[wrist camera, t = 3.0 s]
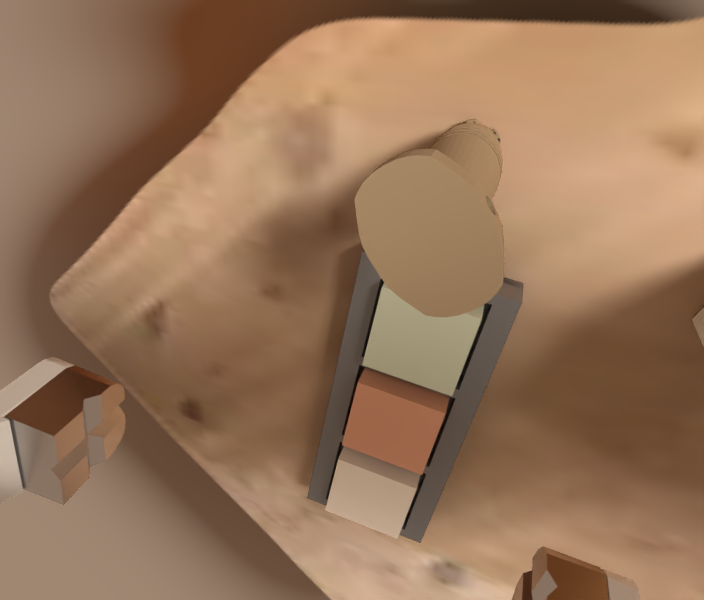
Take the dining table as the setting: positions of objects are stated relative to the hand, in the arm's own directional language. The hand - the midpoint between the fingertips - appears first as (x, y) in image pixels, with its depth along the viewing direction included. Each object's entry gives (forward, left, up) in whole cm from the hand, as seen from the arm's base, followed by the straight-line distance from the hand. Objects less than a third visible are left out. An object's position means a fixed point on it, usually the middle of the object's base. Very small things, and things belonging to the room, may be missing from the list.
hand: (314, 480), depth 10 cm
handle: (0, 0, -27) cm, 27 cm away
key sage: (+12, 0, -25) cm, 28 cm away
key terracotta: (+20, 0, -25) cm, 32 cm away
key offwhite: (+28, 0, -25) cm, 38 cm away
